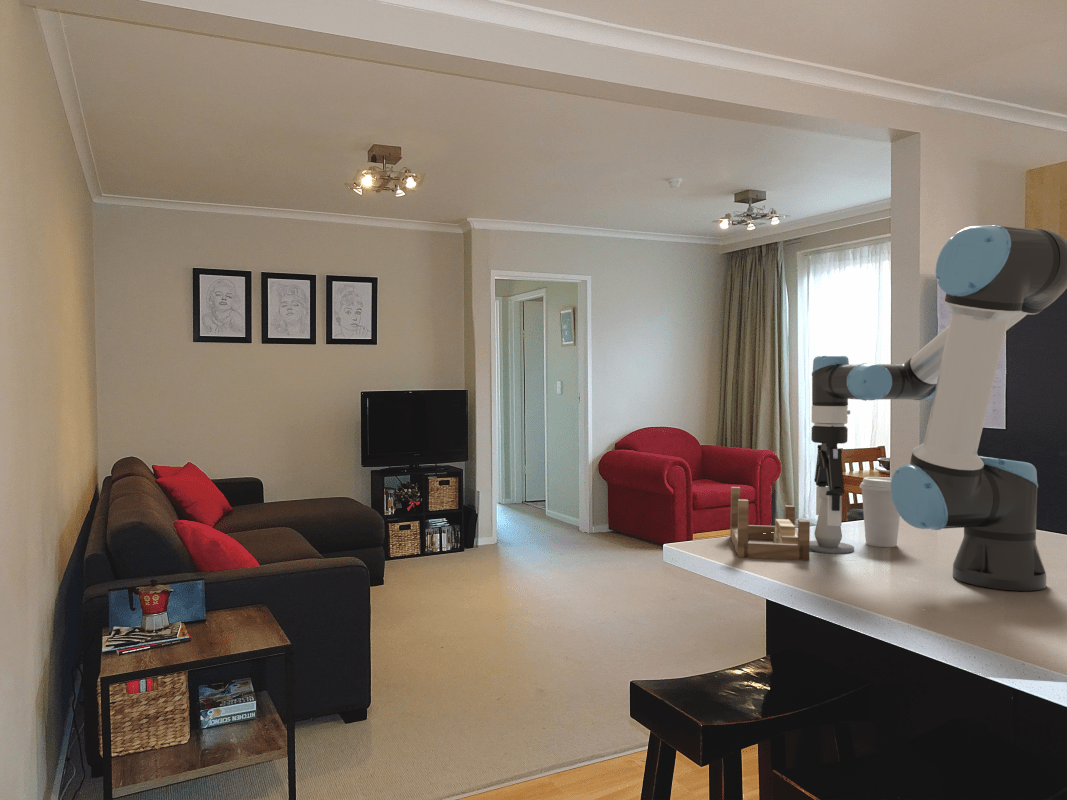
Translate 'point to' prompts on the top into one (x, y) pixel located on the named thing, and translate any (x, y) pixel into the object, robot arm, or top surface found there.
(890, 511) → the coffee cup
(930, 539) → the top surface
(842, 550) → the coaster
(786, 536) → the offcut stack
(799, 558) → the rack
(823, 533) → the salt shaker
